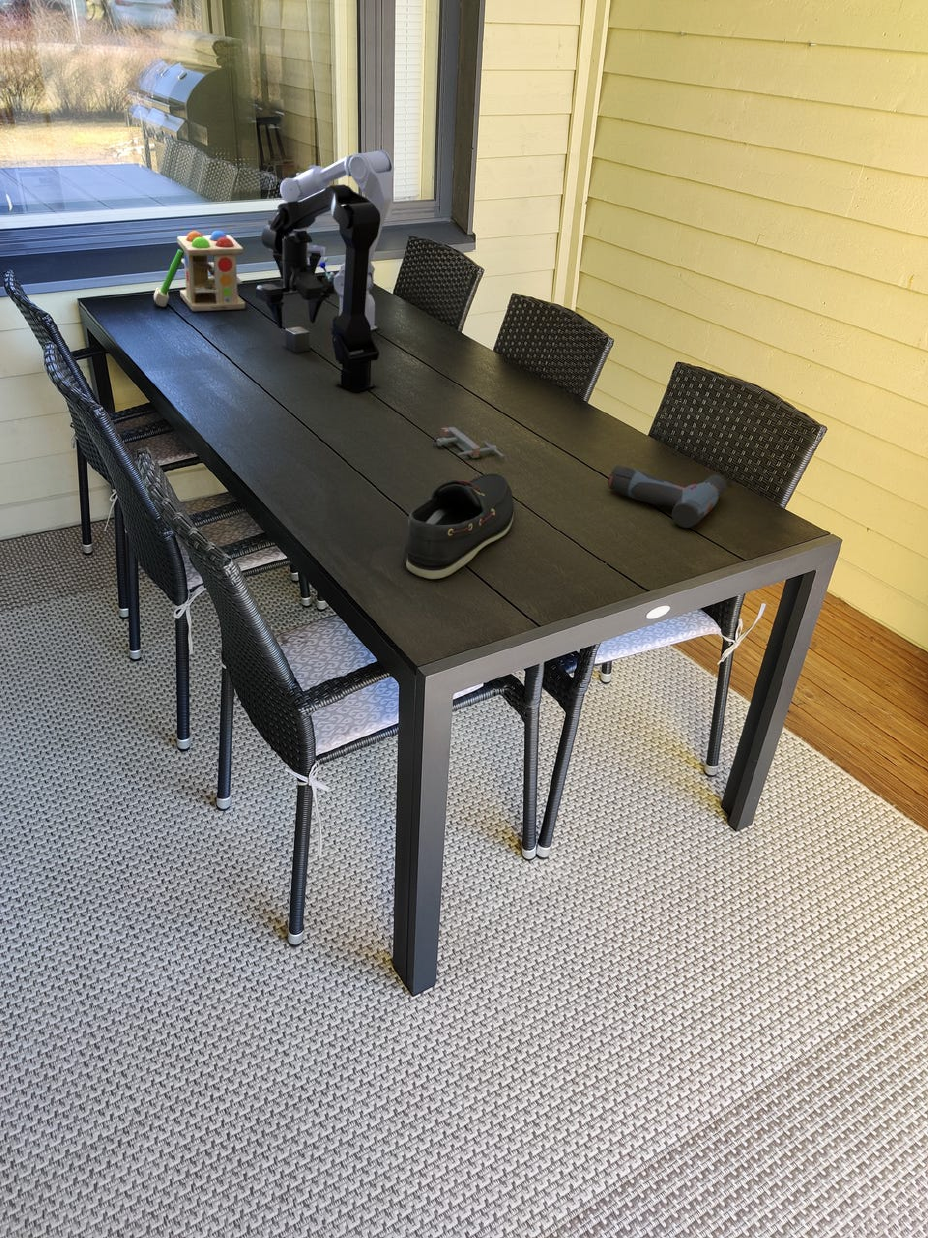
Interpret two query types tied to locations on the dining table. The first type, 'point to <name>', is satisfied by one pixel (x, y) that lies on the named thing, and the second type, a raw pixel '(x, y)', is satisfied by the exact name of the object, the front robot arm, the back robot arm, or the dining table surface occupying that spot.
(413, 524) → the boat shoe
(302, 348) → the metal block
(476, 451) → the clamp
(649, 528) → the dining table surface
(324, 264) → the molecular model
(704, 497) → the power drill
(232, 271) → the pounding bench toy
